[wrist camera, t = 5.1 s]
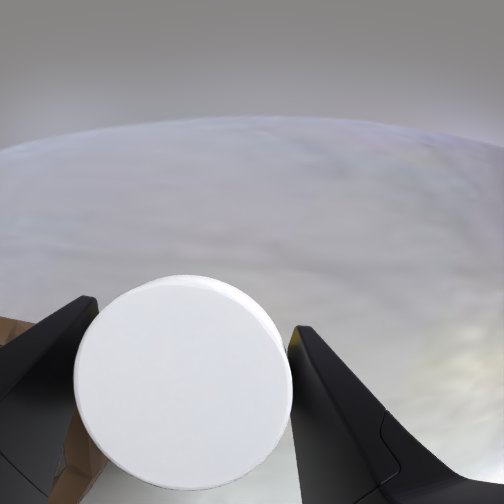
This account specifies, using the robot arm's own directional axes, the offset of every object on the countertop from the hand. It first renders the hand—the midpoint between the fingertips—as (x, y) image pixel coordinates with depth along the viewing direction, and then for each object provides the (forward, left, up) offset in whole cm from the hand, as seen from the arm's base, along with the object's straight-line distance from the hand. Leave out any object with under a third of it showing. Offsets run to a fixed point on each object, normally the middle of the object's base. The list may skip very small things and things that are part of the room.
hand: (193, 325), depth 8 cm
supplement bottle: (-1, -1, -7) cm, 7 cm away
